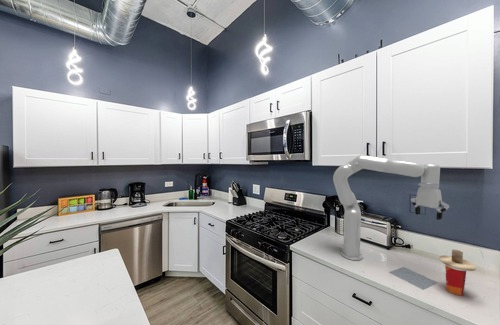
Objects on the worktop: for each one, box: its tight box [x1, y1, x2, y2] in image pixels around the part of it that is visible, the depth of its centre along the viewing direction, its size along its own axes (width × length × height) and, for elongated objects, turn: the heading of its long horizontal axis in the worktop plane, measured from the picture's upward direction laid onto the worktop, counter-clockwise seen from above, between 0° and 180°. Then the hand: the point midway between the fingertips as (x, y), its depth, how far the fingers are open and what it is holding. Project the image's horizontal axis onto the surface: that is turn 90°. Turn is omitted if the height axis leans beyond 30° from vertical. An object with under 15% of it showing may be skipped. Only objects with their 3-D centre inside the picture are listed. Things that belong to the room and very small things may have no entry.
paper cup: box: [444, 264, 467, 296], centre depth 95 cm, size 8×8×14 cm
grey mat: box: [388, 266, 439, 290], centre depth 106 cm, size 16×14×1 cm
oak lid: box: [439, 249, 477, 272], centre depth 95 cm, size 12×12×6 cm
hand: (427, 216), depth 111 cm, fingers open, 9 cm apart
